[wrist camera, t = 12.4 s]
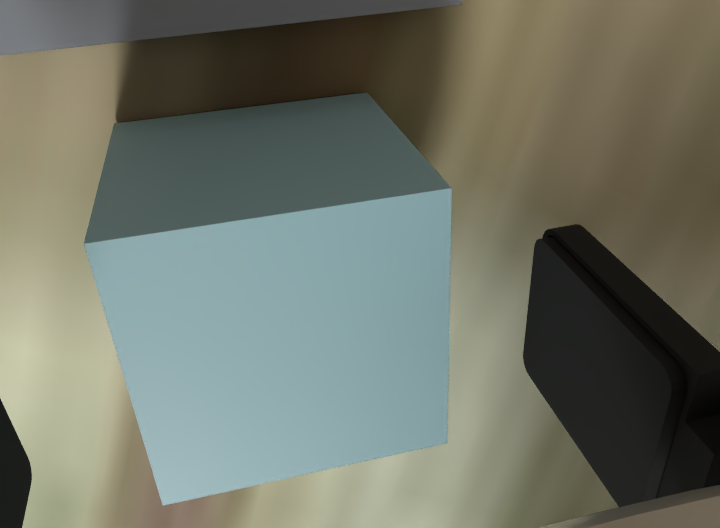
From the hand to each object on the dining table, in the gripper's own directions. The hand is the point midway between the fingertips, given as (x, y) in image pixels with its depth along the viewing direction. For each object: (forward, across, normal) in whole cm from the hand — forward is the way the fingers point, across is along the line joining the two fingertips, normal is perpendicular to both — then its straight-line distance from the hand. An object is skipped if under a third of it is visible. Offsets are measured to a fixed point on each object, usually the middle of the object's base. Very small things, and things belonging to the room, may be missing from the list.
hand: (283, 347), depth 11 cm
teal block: (+7, 0, +1) cm, 7 cm away
